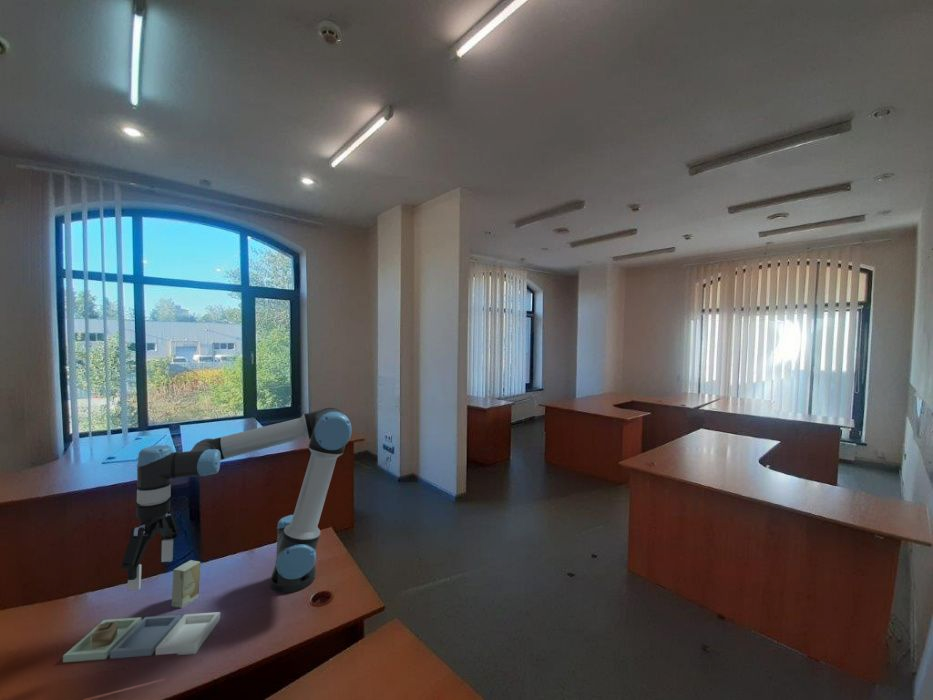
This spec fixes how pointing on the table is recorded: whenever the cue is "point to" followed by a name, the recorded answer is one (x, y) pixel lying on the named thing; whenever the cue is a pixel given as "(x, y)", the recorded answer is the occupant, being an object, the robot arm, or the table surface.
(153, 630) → the tray
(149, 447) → the robot arm
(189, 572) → the skincare box
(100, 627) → the letter cube
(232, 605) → the table surface
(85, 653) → the tray
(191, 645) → the tray
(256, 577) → the table surface
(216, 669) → the table surface
